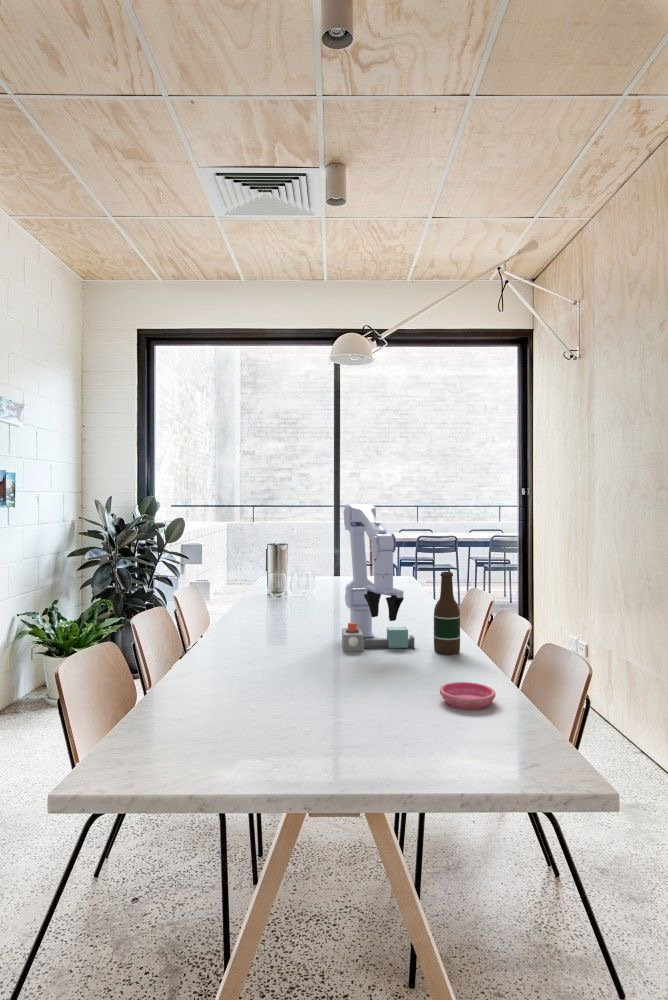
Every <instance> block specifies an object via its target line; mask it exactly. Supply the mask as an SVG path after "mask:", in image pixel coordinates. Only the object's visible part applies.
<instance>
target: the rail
mask: <svg viewBox="0 0 668 1000" xmlns="http://www.w3.org/2000/svg"><path fill="white" fill-rule="evenodd" d="M364 648H365V649H389V648H388V638H387V637H385V638H383V637H382V638H376V637H375V638H374V637H372V638H364ZM409 648H410V649H415V637H414V635H413V634H408V649H409Z"/></svg>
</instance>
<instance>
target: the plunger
mask: <svg viewBox="0 0 668 1000" xmlns="http://www.w3.org/2000/svg"><path fill="white" fill-rule="evenodd" d="M347 628H348V633H357V623H354V622H351V623H350V622H347Z"/></svg>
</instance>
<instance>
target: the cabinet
mask: <svg viewBox="0 0 668 1000" xmlns="http://www.w3.org/2000/svg"><path fill="white" fill-rule="evenodd" d="M341 646H342V647H341V648H342V650H343V653H345V652H349V653H350V652H351V653H352V652H364V637H363V633H362V630H361V628H357V633H348V627H346V628H345V627H343V628H342V627H341Z"/></svg>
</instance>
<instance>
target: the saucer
mask: <svg viewBox="0 0 668 1000" xmlns="http://www.w3.org/2000/svg"><path fill="white" fill-rule="evenodd" d="M439 694H440V696H441V697H442V699H443V700H445V702H446V704H447V705H449V706H451V707H454V708H456V709H462V710H480V709H485V708H487V707H488V706H489V705H490V704H491V703H492V702H493V701H494V699H495V698H496V691H495V690H494V688H492V687H490V686H488V685H485V684H482V683H477V682H469V681H468V682H467V681H456V682H448V683H444V684H443V685H441V686H440V688H439Z"/></svg>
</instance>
